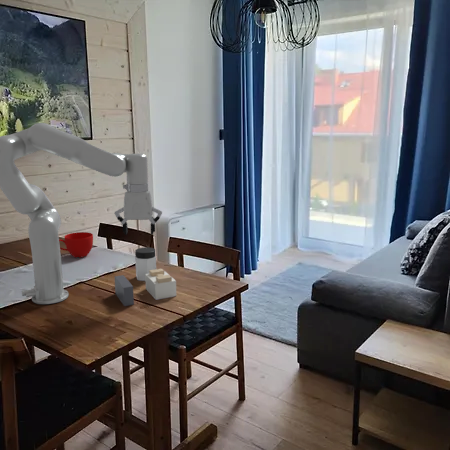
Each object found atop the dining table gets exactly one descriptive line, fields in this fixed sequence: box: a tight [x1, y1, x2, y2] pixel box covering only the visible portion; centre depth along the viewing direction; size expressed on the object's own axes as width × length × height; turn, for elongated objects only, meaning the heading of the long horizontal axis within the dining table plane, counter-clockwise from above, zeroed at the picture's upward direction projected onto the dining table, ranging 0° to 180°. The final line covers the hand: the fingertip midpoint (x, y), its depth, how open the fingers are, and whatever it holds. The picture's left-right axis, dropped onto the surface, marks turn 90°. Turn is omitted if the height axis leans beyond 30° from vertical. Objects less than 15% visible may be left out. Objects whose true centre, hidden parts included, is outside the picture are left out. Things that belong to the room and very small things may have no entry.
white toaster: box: [145, 268, 177, 301], centre depth 169 cm, size 8×12×8 cm, turn 27°
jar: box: [134, 247, 157, 282], centre depth 184 cm, size 9×8×12 cm
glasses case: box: [114, 275, 135, 307], centre depth 163 cm, size 3×13×7 cm, turn 27°
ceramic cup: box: [59, 231, 94, 258], centre depth 213 cm, size 13×17×10 cm
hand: (139, 233), depth 166 cm, fingers open, 9 cm apart
